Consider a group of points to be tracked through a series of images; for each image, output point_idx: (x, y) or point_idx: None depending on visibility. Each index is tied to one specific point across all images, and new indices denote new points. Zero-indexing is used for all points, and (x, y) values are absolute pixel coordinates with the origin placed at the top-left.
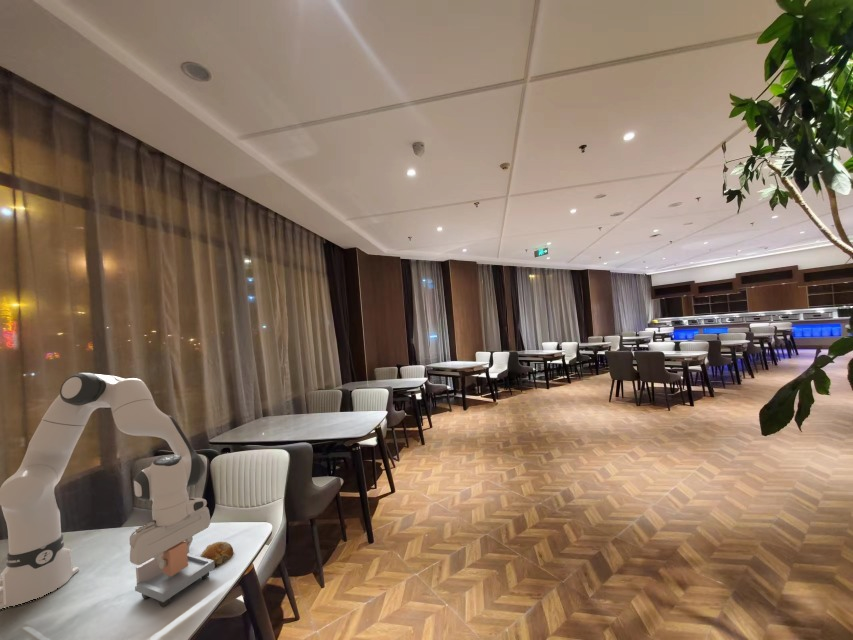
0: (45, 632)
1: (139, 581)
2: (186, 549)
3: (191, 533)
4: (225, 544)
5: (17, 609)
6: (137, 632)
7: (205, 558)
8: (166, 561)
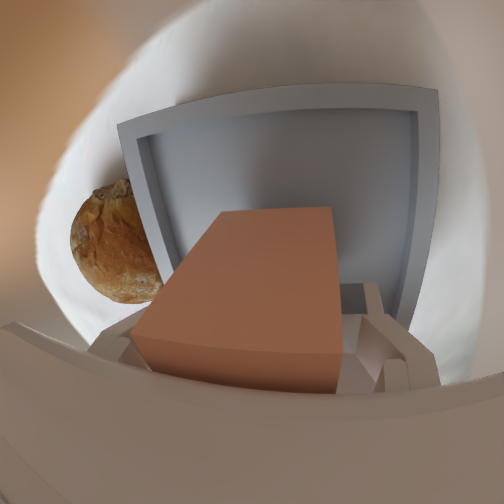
0: (469, 370)
1: None
2: (171, 280)
3: (62, 371)
4: (73, 241)
5: None
6: (471, 120)
7: (137, 201)
8: (344, 306)
